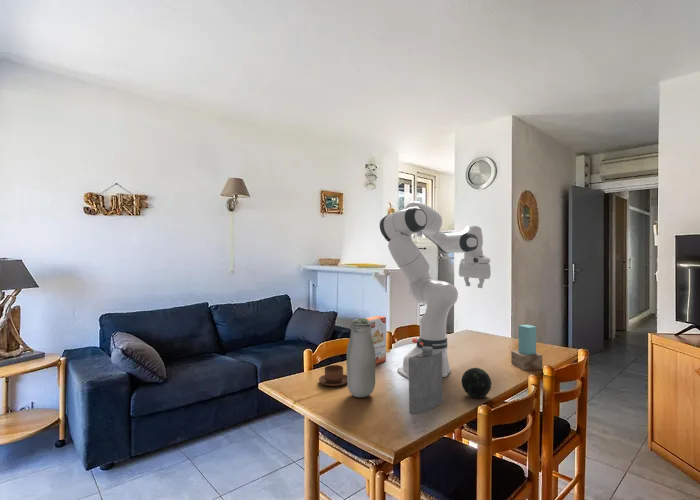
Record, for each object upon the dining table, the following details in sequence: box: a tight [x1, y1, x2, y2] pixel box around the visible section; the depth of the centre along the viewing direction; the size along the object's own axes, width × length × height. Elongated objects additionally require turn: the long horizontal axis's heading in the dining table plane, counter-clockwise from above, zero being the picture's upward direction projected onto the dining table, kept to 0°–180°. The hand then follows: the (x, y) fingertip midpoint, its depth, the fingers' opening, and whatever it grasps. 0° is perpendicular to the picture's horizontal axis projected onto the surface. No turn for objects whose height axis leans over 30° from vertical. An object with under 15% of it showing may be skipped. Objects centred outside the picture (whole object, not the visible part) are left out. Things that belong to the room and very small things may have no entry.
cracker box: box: [365, 315, 387, 365], centre depth 179 cm, size 14×6×21 cm, turn 136°
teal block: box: [518, 324, 537, 355], centre depth 171 cm, size 5×5×12 cm
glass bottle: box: [346, 317, 376, 398], centre depth 140 cm, size 10×10×28 cm
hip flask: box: [408, 346, 444, 415], centre depth 130 cm, size 16×4×20 cm, turn 132°
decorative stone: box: [461, 367, 492, 399], centre depth 138 cm, size 10×10×10 cm
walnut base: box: [510, 349, 543, 371], centre depth 171 cm, size 9×9×6 cm
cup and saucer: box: [318, 364, 347, 387], centre depth 154 cm, size 12×12×6 cm
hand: (473, 287), depth 191 cm, fingers open, 8 cm apart
